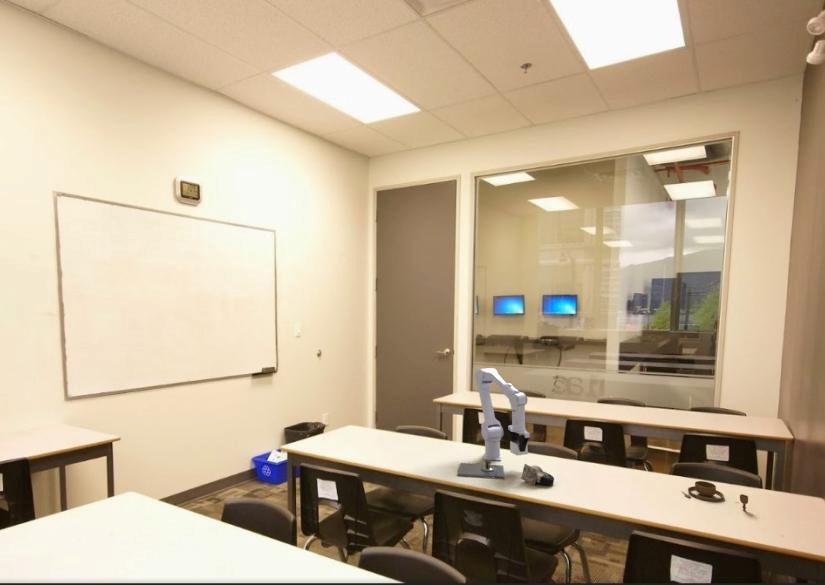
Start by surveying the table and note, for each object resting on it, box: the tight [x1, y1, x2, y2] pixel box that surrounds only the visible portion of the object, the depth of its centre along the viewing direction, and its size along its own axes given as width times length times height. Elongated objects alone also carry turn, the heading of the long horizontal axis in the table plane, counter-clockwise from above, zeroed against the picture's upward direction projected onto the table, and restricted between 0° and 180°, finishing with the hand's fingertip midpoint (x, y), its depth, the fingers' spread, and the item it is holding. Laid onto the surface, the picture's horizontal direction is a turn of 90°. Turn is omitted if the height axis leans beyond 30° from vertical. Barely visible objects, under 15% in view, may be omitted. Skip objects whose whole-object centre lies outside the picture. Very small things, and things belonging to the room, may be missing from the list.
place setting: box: [680, 480, 749, 512], centre depth 171 cm, size 18×20×6 cm
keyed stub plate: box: [457, 460, 505, 479], centre depth 201 cm, size 14×20×4 cm
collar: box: [509, 440, 529, 456], centre depth 204 cm, size 6×6×5 cm
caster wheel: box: [520, 463, 555, 487], centre depth 189 cm, size 7×11×10 cm
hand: (518, 449), depth 204 cm, fingers closed on collar, 6 cm apart
